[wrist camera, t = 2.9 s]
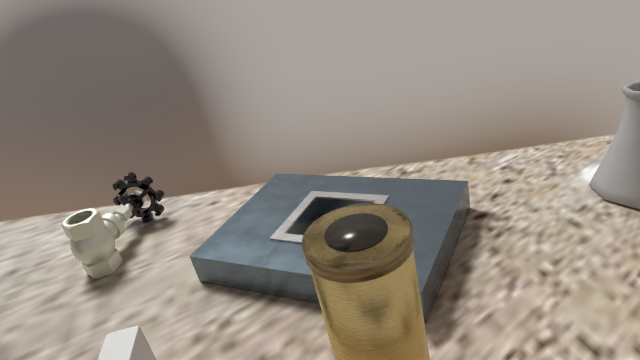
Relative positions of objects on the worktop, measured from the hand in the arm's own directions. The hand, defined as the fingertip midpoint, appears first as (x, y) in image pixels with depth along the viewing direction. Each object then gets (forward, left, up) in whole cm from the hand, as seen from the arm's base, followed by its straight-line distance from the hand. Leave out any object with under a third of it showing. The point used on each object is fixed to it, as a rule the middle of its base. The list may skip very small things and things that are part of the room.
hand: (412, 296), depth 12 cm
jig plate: (-17, +24, -18) cm, 35 cm away
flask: (+8, +37, -18) cm, 42 cm away
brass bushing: (-6, +8, -18) cm, 20 cm away
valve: (-42, +19, -18) cm, 50 cm away
